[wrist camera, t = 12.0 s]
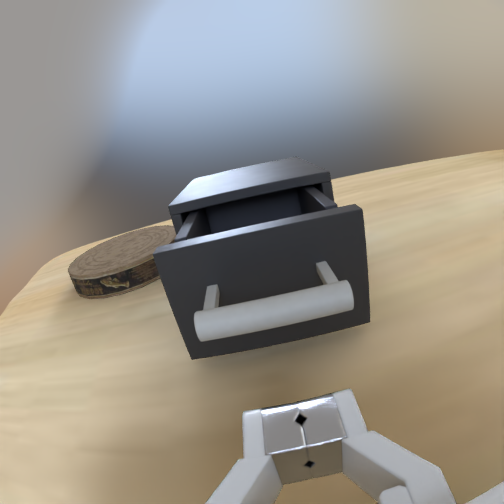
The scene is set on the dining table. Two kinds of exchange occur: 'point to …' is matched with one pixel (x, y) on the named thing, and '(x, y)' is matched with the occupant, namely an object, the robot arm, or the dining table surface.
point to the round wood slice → (120, 263)
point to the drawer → (266, 271)
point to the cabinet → (248, 185)
